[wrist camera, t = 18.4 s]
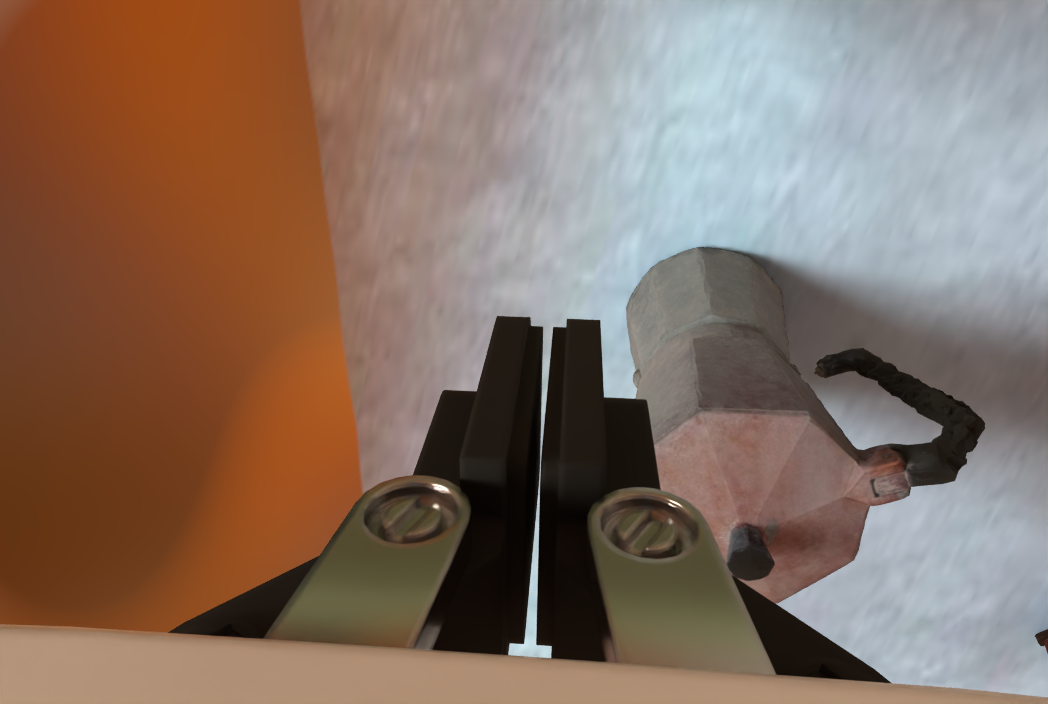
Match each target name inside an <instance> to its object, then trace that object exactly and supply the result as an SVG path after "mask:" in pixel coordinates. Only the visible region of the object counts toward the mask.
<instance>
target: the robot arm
mask: <svg viewBox="0 0 1048 704" xmlns="http://www.w3.org/2000/svg"><path fill="white" fill-rule="evenodd" d="M542 354H543V327H538V326H531V320H530V317H506V316H497V318H496V321H495V325H494V329H493V332H492V336H491V340H490V344H489V348H488V351H487V355H486V359H485V363H484V366H483V370H482V374H481V378H480V381H479V385H478V389H477V392H475V391H453V390H444V391H443V392H442V394H441V397H440V399H439V402H438V405H437V408H436V411H435V414H434V416H433V419H432V422H431V425H430V428H429V431H428V434H427V436H426V439H425V442H424V445H423V448H422V451H421V454H420V456H419V459H418V462H417V465H416V468H415V471H414V474H413V475H412V476H405V477H398V478H394V479H391V480H388V481H385V482H382V483H380V484H378V485H376V486H375V487H373V488H371V489H370V490H368V491H367V492H365V493H364V494H363V496H362V497H361V498H360V499H359V500H358V501H357V502H356V503H355V505H354V506H353V508H352V509H351V510H350V512H349V513H348V515H347V516H346V518H345V519H344V521H343V522H342V524H341V525H340V527H339V528H338V530H337V531H336V532H335V534H334V535H333V537H332V538H331V540H330V541H329V543H328V544H327V546H326V547H325V548H324V550H323V551H322V553H321V554H320V556H318V557H316V558H314V559H312V560H310V561H308V562H306V563H304V564H302V565H300V566H298V567H296V568H294V569H292V570H290V571H287V572H285V573H283V574H281V575H280V576H277V577H275V578H273V579H271V580H269V581H267V582H265V583H263V584H261V585H259V586H257V587H256V588H253V589H251V590H250V591H247V592H245V593H243V594H241V595H239V596H237V597H235V598H233V599H231V600H229V601H227V602H225V603H223V604H221V605H219V606H217V607H215V608H213V609H211V610H209V611H207V612H205V613H203V614H201V615H199V616H197V617H195V618H193V619H191V620H188V621H186V622H184V623H183V624H181V625H180V626H178V627H176V628H175V629H173V630H171V631H170V632H168V633H162V632H146V631H130V630H115V629H98V628H84V627H65V626H34V625H2V624H0V704H1048V698H1046V697H1037V696H1027V695H1018V694H1008V693H999V692H989V691H980V690H970V689H960V688H946V687H933V686H920V685H906V684H893V683H891V682H889V681H888V680H887V679H886V678H885V677H883V676H882V675H881V674H880V673H878V672H877V671H876V670H875V669H873V668H872V667H870V666H869V665H867V664H866V663H864V662H863V661H861V660H860V659H858V658H857V657H855V656H853V655H852V654H850V653H849V652H847V651H846V650H844V649H843V648H841V647H840V646H838V645H837V644H835V643H834V642H832V641H831V640H829V639H828V638H826V637H825V636H823V635H822V634H820V633H819V632H817V631H816V630H814V629H813V628H811V627H810V626H808V625H807V624H805V623H804V622H802V621H801V620H799V619H798V618H796V617H795V616H793V615H792V614H790V613H789V612H787V611H786V610H784V609H783V608H781V607H779V606H778V605H776V604H775V603H773V602H772V601H770V600H769V599H767V598H766V597H764V596H763V595H761V594H760V593H758V592H757V591H755V590H754V589H752V588H751V587H749V586H748V585H746V584H745V583H743V582H742V581H740V580H739V579H737V578H736V577H734V576H733V575H731V573H730V571H729V569H728V567H727V564H726V562H725V560H724V558H723V556H722V553H721V551H720V549H719V547H718V544H717V542H716V540H715V538H714V536H713V533H712V531H711V529H710V527H709V525H708V522H707V521H706V520H705V518H704V517H703V515H702V514H701V512H700V511H699V510H698V509H697V508H696V507H694V506H693V505H692V504H691V503H689V502H688V501H687V500H685V499H683V498H681V497H679V496H677V495H675V494H672V493H670V492H666V491H662V490H661V488H660V481H659V475H658V468H657V461H656V455H655V448H654V442H653V435H652V429H651V422H650V415H649V409H648V403H647V400H645V399H626V398H604V391H603V370H602V349H601V328H600V320H582V319H567V327H566V328H563V327H553V336H552V347H551V358H550V369H549V380H548V391H547V402H546V413H545V424H544V435H543V446H542V459H541V479H540V517H539V557H538V598H537V638H536V645H545V646H552V654H551V658H539V657H525V656H511V655H508V651H509V643H516V644H524V639H525V629H526V618H527V607H528V596H529V585H530V574H531V563H532V553H533V542H534V531H535V520H536V509H537V498H538V487H539V472H540V437H541V396H542Z"/></svg>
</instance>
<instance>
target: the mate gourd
mask: <svg viewBox="0 0 1048 704" xmlns="http://www.w3.org/2000/svg"><path fill="white" fill-rule="evenodd" d="M1035 637H1036V639H1037V641H1038V643H1039V644H1040V646H1045V647H1046V649H1047V652H1048V629H1047V630H1045V631H1043V632H1040V633H1038V634H1036V635H1035Z"/></svg>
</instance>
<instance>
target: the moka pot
mask: <svg viewBox="0 0 1048 704" xmlns="http://www.w3.org/2000/svg"><path fill="white" fill-rule="evenodd" d="M626 311H627V325H628V333H629V339H630V348H631V353H632V357H633V360H634V365H635V369H636V371H635V373H634V375H633V382H634V385H635V386H636V387H637V388H638V389H637V394H636V399H645V400H647V403H648V409H649V415H650V422H651V429H652V435H653V442H654V448H655V455H656V461H657V468H658V475H659V481H660V488H661V490H662V491H666V492H670V493H672V494H675V495H677V496H679V497H681V498H683V499H685V500H687V501H688V502H689V503H691V504H692V505H693V506H694V507H696V508H697V509H698V510H699V511H700V512H701V514H702V515H703V517H704V518H705V520H706V521H707V522H708V525H709V527H710V529H711V531H712V533H713V536H714V538H715V540H716V542H717V544H718V547H719V549H720V551H721V553H722V556H723V558H724V560H725V562H726V564H727V567H728V569H729V571H730V573H731V575H733V576H734V577H736V578H737V579H739V580H740V581H742V582H743V583H745V584H746V585H748V586H749V587H751V588H752V589H754V590H755V591H757V592H758V593H760V594H761V595H763V596H764V597H766V598H767V599H769V600H770V601H772V602H773V603H779V602H781V601H783V600H784V599H786V598H788V597H790V596H792V595H793V594H795V593H797V592H799V591H801V590H802V589H804V588H806V587H808V586H810V585H811V584H813V583H815V582H817V581H819V580H821V579H822V578H824V577H826V576H828V575H829V574H831V573H833V572H835V571H836V570H838V569H840V568H842V567H844V566H845V565H847V564H849V563H850V562H852V561H853V560H854V559H855V557H856V554H857V552H858V550H859V546H860V541H861V536H862V533H863V529H864V525H865V520H866V517H867V514H868V511H869V507H870V506H876V505H882V504H886V503H890V502H893V501H897V500H900V499H903V498H905V497H907V496H909V495H910V489H911V487H914V486H924V485H935V484H944V483H948V482H952V481H955V479H956V476H957V474H958V471H959V470H960V468H961V467H962V466H964V465H965V464H967V459H966V454H967V452H971V451H973V450H974V448H975V447H976V445H977V443H978V442H977V439H978V438H979V437H980V435H981V433H982V432H983V431H984V429H985V422H984V421H983V420H982V418H981V417H979V416H978V415H977V414H976V413H975V412H973V410H972V409H971V408H970V407H969V406H968V405H966V404H965V403H964V402H963V401H958V400H955V399H954V398H953V397H952V396H951V395H946V394H945V393H944V392H943V391H941V390H938V389H936V388H931V387H930V386H928V385H926V384H924V383H923V382H921V381H920V380H919V379H916V378H914V377H912V376H911V375H909V374H906V373H903V372H900V371H898V370H897V368H896V367H895V366H894V365H893V364H891V363H887V362H883V361H882V359H881V358H879V357H877V356H875V355H873V354H872V353H871V352H869V351H867V350H865V349H864V348H859V349H850V350H846V351H843V352H840V353H838V354H833V355H827V356H825V357H824V358H823V359H820V360H819V361H818V362H817V367H816V372H814V373H815V374H817V375H819V376H820V377H824V378H827V377H830V376H834V375H837V374H841V373H844V372H848V371H856V372H857V373H858V374H860V375H861V376H864V377H866V378H870V379H873V380H876V381H878V384H879V385H880V386H881V387H882V388H883V389H885V390H886V391H887V392H889V393H890V394H891V395H892V396H896V397H898V398H900V399H901V400H902V401H903V402H904V403H906V404H907V405H909V406H911V407H914V408H915V409H916V411H917V412H918V413H919V414H921V415H923V416H925V417H927V418H929V419H931V420H933V421H935V422H937V423H939V424H940V425H942V426H944V427H943V429H942V433H941V436H939V437H937V438H935V439H933V441H932V442H930V443H924V444H914V445H902V444H885V445H879V446H875V447H871V448H868V449H865V450H858V449H856V448H855V447H854V446H853V445H852V443H851V442H850V441H849V440H848V438H847V437H846V436H845V434H844V433H843V431H842V429H841V428H840V427H839V426H838V425H837V423H836V422H835V420H834V419H833V418H832V416H831V415H830V414H829V413H828V411H827V410H826V409H825V407H824V406H823V404H822V402H821V401H820V400H819V399H818V398H817V396H816V394H815V393H814V391H813V390H812V389H811V388H810V386H809V385H808V384H807V383H805V382H804V381H803V380H802V378H801V377H800V372H799V371H798V369H797V368H796V366H795V365H792V364H790V362H789V348H788V339H787V334H786V330H785V318H784V308H783V299H782V292H781V290H780V288H779V287H778V286H777V285H776V284H775V282H774V281H773V280H772V278H771V277H769V275H768V274H767V273H766V272H765V271H764V270H763V269H762V268H761V266H759V265H758V264H757V263H756V262H755V261H753V260H752V259H751V258H750V257H748V256H745V255H742V254H740V253H736V252H731V251H726V250H720V249H714V248H705V247H697V248H693V249H689V250H686V251H683V252H681V253H678V254H677V255H674V256H672V257H670V258H668V259H665V260H662V261H660V262H659V263H657V264H656V265H654V266H653V267H652V268H651V269H650V270H649V271H648V272H647V273H646V274H645V276H644V277H643V278H642V280H641V281H640V283H639V285H638V286H637V287H636V289H635V290H634V292H633V293H632V295H631V297H630V299H629V302H628V304H627V307H626Z"/></svg>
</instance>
